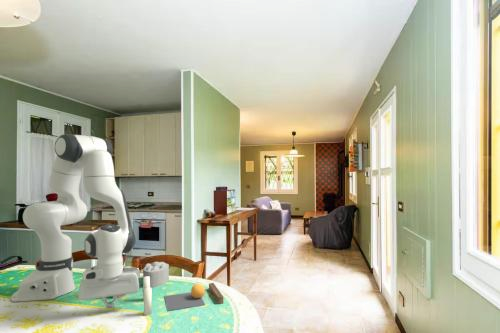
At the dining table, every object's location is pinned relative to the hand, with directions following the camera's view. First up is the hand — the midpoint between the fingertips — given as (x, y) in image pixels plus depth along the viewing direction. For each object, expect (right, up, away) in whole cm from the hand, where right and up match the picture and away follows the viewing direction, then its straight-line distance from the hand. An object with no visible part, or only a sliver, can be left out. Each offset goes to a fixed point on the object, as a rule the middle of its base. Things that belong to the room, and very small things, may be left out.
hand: (109, 307), depth 109 cm
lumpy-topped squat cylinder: (+7, -3, +30) cm, 31 cm away
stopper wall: (+37, -2, +14) cm, 40 cm away
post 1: (+10, -2, +11) cm, 15 cm away
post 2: (+14, -2, -1) cm, 15 cm away
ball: (+30, +1, +13) cm, 33 cm away
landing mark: (+25, -2, +10) cm, 27 cm away
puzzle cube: (-5, -2, +18) cm, 19 cm away
